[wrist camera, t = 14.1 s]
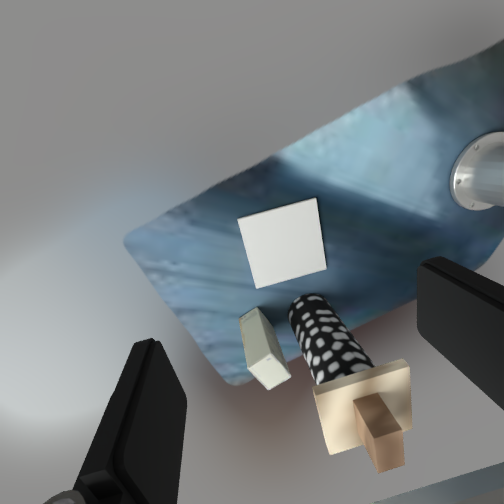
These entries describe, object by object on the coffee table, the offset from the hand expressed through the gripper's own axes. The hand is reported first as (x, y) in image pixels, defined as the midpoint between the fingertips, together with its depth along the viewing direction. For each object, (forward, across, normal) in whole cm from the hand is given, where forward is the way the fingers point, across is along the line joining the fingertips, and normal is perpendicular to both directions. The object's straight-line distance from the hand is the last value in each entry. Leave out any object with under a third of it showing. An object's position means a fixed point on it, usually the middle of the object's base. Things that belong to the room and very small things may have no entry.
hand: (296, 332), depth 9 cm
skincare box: (+34, +2, +25) cm, 43 cm away
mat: (+34, -6, +11) cm, 37 cm away
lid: (+14, -8, +26) cm, 31 cm away
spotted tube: (+34, -8, +26) cm, 44 cm away
